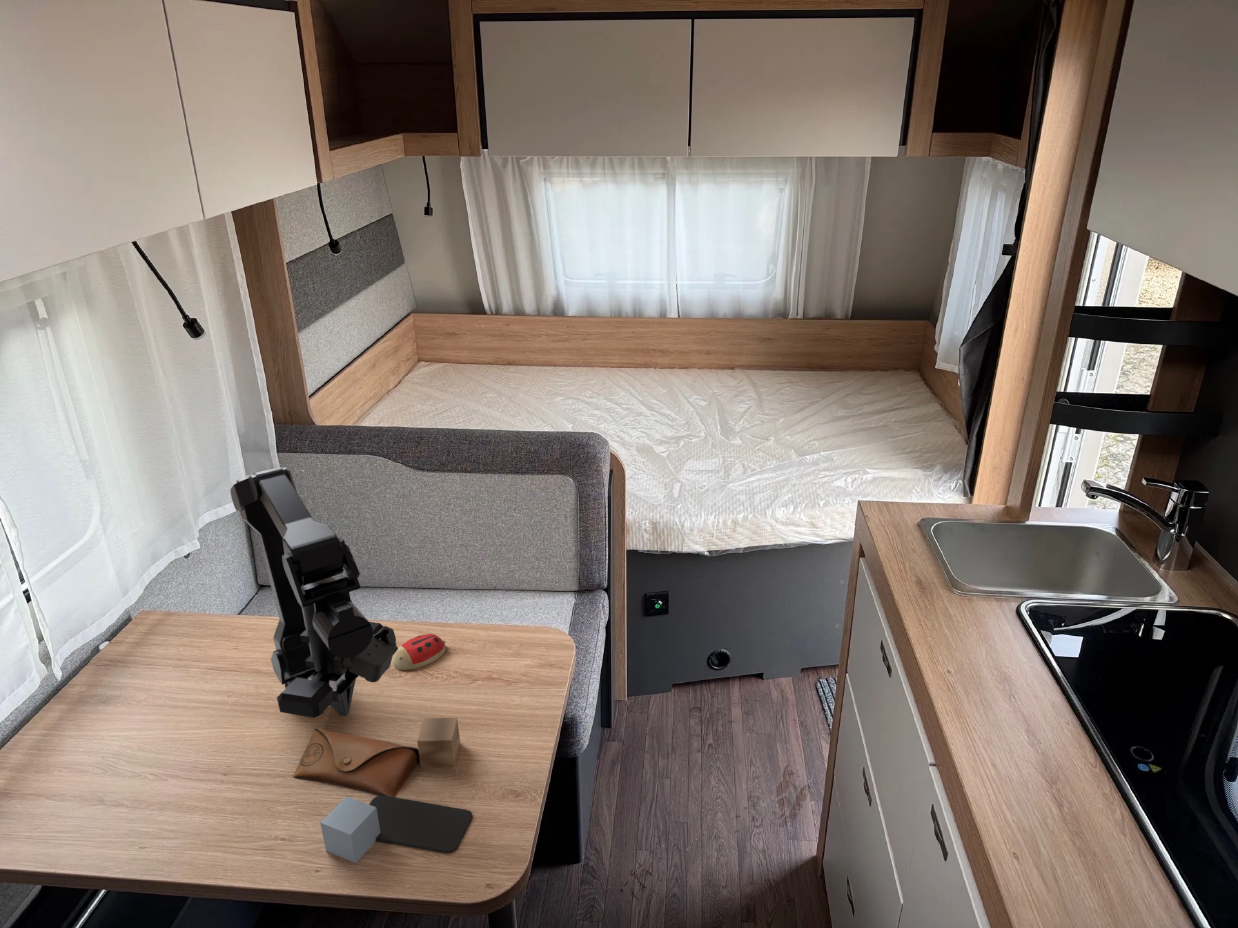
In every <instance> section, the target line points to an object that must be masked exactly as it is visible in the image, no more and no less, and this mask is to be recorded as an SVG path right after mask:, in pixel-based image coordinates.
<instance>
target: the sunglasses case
mask: <svg viewBox="0 0 1238 928" xmlns="http://www.w3.org/2000/svg"><path fill="white" fill-rule="evenodd" d="M419 764H420V758H419V751H418V747H415V746H405V745H402V744H397V743H394V742H389V741H385V740H380V739H377V738H372V737H371V738H370V737H365V736H361V735H356V734H350V733H345V732H338V731H332V730H325V729H322V728H318V727H315V728H314V732H313V734H312V735H311V738H310V739H309V742H308V744H307V746H306V748H305V750H304V753H303V755H302V756H301V759H300V760H299V762H298V765H297V767H296V769H295V771H294V773H292V774H291V776H292V778H293V777H294V779H301V780H302V779H303V780H311V781H317V782H324V783H329V784H333V785H339V786H341V787H342V786H343V787H348V788H352V789H354V790H355V789H356V790H358V791H359V790H360V791H363V792H368V793H373V794H376V795H377V796H380V795H384V796H390V797H396V798H397V795H398V793H399V792H400V790H401V789H402V787H403V786H404V784H406V782H407V781H408V780H409V779H410V777H411V775H412V774H413V773H414V771H415V770H416V768H418V766H419ZM291 776H290V777H291Z"/></svg>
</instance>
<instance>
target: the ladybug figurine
mask: <svg viewBox="0 0 1238 928" xmlns="http://www.w3.org/2000/svg"><path fill="white" fill-rule="evenodd" d="M445 651H446V640H445V639H442V638H441V637H440V636H438V635H436V634H433V633H426V634H421V635H417V636H415V637H412V638H411V639H409V640H407V641H405V642H404V643H402V644H401V645H400V646H399V647H398V650H397V651H396V652H395V654H394V655H393V658H392V660H393V661H392V662H393V663H392V664H393V666H394V667H395V668H397V669H398V670H404V671H406V670H408V671H409V670H415V669H419V668H422V667H426V666H427V665H430V664H432V663H434V662H435V661H436V660H438V659H439V658H441V656H442V655H444V653H445Z"/></svg>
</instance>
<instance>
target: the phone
mask: <svg viewBox="0 0 1238 928" xmlns="http://www.w3.org/2000/svg"><path fill="white" fill-rule="evenodd" d="M369 805H371V806H374V807H376V809H377V815H378V820H379V826H380V832H381V833H380V834H379V835H378V836H377V837H376V842H377V843H378V842H379V843H384V844H390V845H396V846H403V847H408V848H413V849H419V850H425V851H430V852H435V853H442V854H452V853H454V852H456V851H457V850H458V848H459V846H460V844H461V842H462V840H463V839H464V836H465V834H466V833H467V830H468V828H469V826H470V824H471V822H472V820H473V813H472V811H470V810H468V809H466V808H460V807H453V806H447V805H442V804H437V803H431V802H426V801H425V802H424V801H419V800H413V799H408V798H401V797H397V796H396V797H390V796H384V795H377V796H375V797H373V798H372V799H371V801H370V802H369Z"/></svg>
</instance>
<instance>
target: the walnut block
mask: <svg viewBox="0 0 1238 928" xmlns="http://www.w3.org/2000/svg"><path fill="white" fill-rule="evenodd" d="M458 721H459V720H458V717H424V718H423V720H422V725H421V728H420V731H419V733H418V737H417V740H416V742H417V749H418V751H419V758H420V763H419V764H420V768H455V766H456V763H457V758H458V755H459V750H460V746H461V739H460V731H459V722H458Z"/></svg>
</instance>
